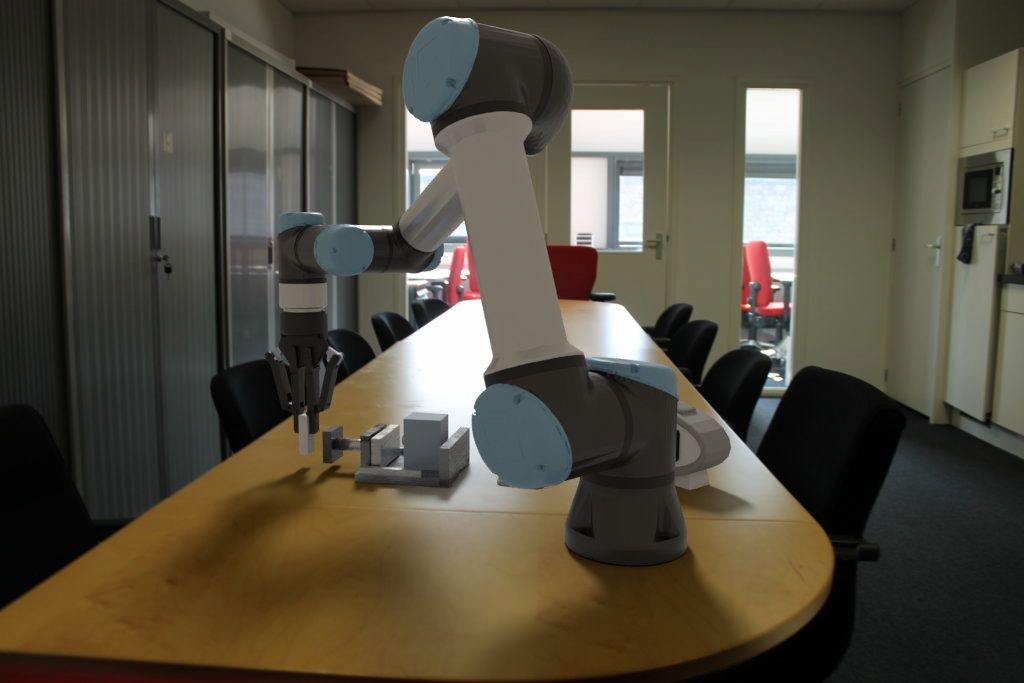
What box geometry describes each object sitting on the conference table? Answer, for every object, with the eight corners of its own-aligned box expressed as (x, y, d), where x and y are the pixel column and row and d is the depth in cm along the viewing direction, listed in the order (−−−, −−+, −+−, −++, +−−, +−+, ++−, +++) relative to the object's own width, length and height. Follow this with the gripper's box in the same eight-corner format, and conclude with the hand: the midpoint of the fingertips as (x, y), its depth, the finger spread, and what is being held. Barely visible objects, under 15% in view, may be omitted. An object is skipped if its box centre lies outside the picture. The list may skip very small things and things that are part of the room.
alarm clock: (591, 463, 140) (593, 388, 139) (616, 457, 144) (618, 384, 143) (704, 496, 123) (707, 411, 121) (729, 489, 127) (732, 406, 125)
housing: (440, 470, 131) (440, 420, 129) (398, 468, 132) (398, 418, 131) (448, 462, 135) (448, 413, 134) (408, 459, 137) (407, 412, 135)
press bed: (449, 487, 126) (449, 444, 125) (354, 481, 128) (354, 439, 128) (469, 462, 140) (469, 424, 139) (383, 457, 142) (383, 420, 141)
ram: (380, 471, 130) (380, 438, 129) (316, 467, 131) (316, 435, 131) (399, 454, 139) (399, 424, 139) (340, 451, 141) (339, 421, 140)
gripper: (350, 308, 136) (353, 448, 139) (275, 306, 138) (279, 445, 141) (333, 312, 129) (336, 460, 132) (254, 310, 131) (259, 456, 134)
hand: (307, 452), depth 137 cm, fingers closed
